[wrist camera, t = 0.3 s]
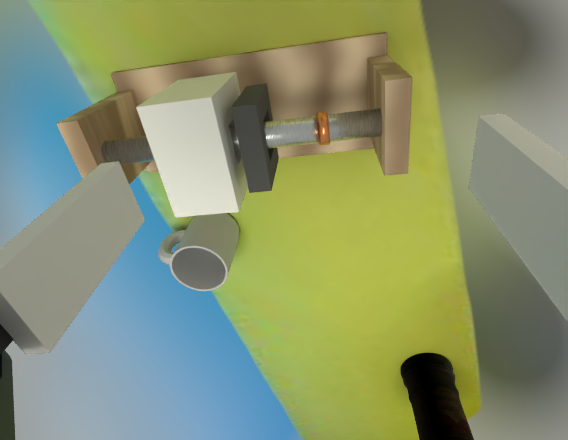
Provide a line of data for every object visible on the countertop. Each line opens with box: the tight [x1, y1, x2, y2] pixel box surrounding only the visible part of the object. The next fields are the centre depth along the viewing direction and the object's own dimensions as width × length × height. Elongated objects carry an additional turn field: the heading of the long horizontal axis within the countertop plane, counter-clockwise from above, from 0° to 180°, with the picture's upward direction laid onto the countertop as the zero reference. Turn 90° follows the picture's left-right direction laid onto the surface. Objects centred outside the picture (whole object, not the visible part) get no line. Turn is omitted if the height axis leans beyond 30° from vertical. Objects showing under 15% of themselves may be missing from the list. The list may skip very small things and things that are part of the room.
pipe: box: [101, 108, 382, 164], centre depth 33 cm, size 28×3×3 cm, turn 98°
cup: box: [158, 213, 240, 291], centre depth 48 cm, size 7×10×9 cm
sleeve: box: [136, 72, 248, 217], centre depth 34 cm, size 6×10×10 cm, turn 8°
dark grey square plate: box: [231, 83, 279, 193], centre depth 33 cm, size 2×8×8 cm, turn 8°
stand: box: [57, 32, 412, 184], centre depth 36 cm, size 30×12×12 cm, turn 98°
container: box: [401, 353, 474, 440], centre depth 57 cm, size 9×9×18 cm
